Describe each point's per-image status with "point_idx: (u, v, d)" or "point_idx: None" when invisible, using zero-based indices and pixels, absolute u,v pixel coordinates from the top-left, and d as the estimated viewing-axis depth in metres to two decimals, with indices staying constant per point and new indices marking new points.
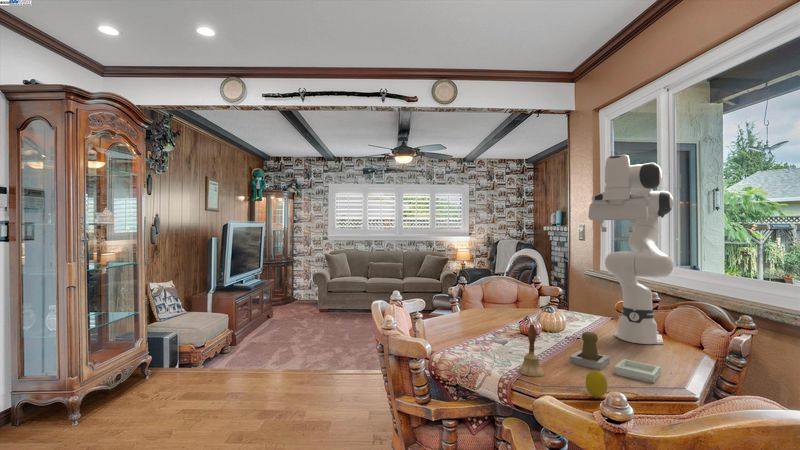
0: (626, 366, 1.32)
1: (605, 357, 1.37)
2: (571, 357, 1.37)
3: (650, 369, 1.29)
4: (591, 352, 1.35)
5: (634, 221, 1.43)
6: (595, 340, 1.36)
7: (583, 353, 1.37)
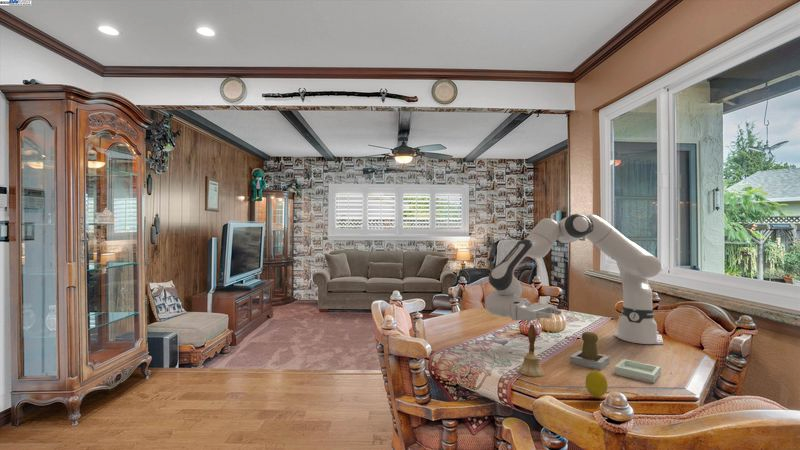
0: (626, 366, 1.32)
1: (605, 357, 1.37)
2: (571, 357, 1.37)
3: (650, 369, 1.29)
4: (591, 352, 1.35)
5: (551, 308, 1.53)
6: (595, 340, 1.36)
7: (583, 353, 1.37)
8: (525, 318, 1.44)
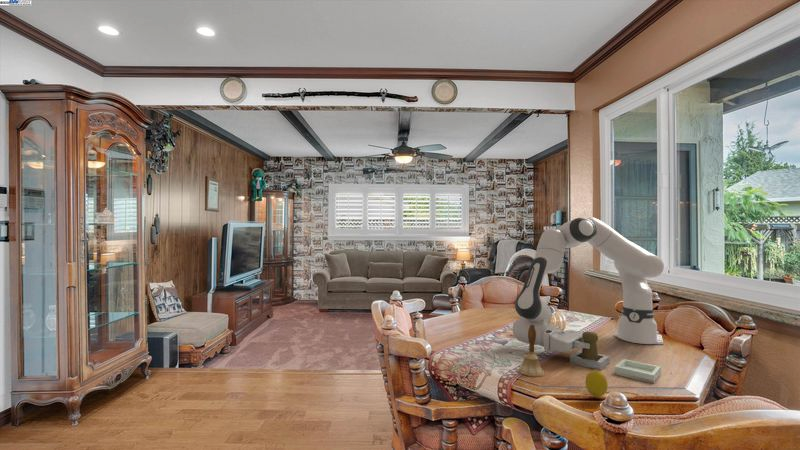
0: (626, 366, 1.32)
1: (605, 357, 1.37)
2: (571, 357, 1.37)
3: (650, 369, 1.29)
4: (591, 352, 1.36)
5: None
6: (595, 339, 1.36)
7: (583, 352, 1.37)
8: (560, 349, 1.35)
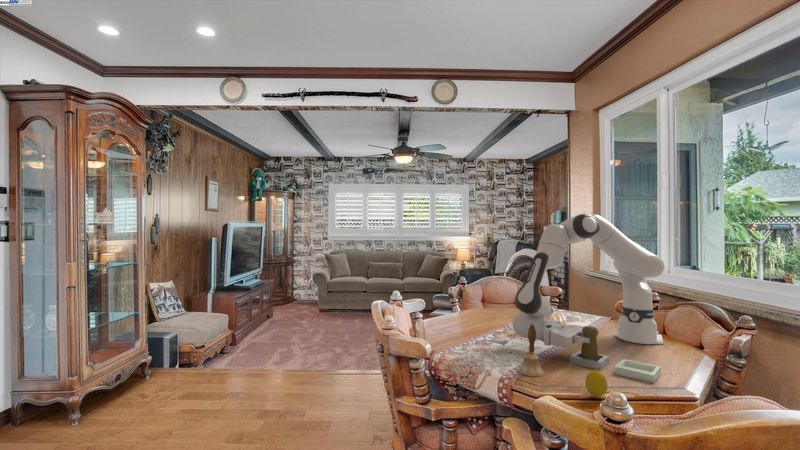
0: (626, 366, 1.32)
1: (605, 357, 1.37)
2: (571, 357, 1.37)
3: (650, 369, 1.29)
4: (591, 346, 1.36)
5: None
6: (595, 334, 1.36)
7: (583, 347, 1.38)
8: (560, 344, 1.36)
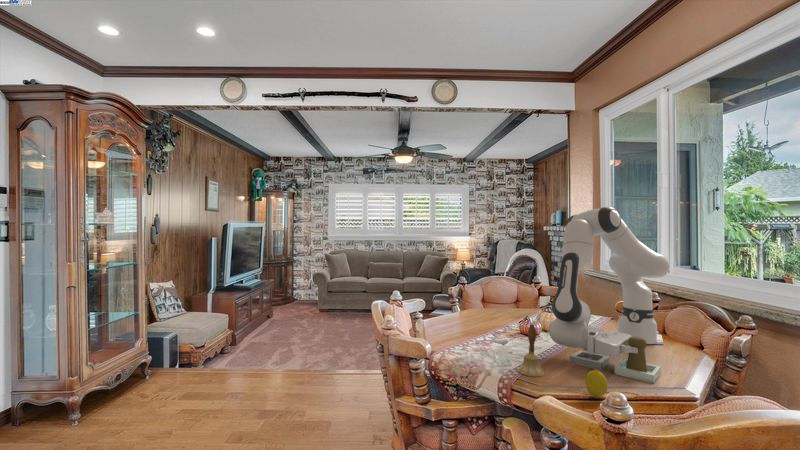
0: None
1: (605, 357, 1.37)
2: (571, 357, 1.37)
3: (650, 369, 1.29)
4: (639, 359, 1.24)
5: None
6: (644, 345, 1.25)
7: (630, 359, 1.26)
8: (606, 353, 1.25)
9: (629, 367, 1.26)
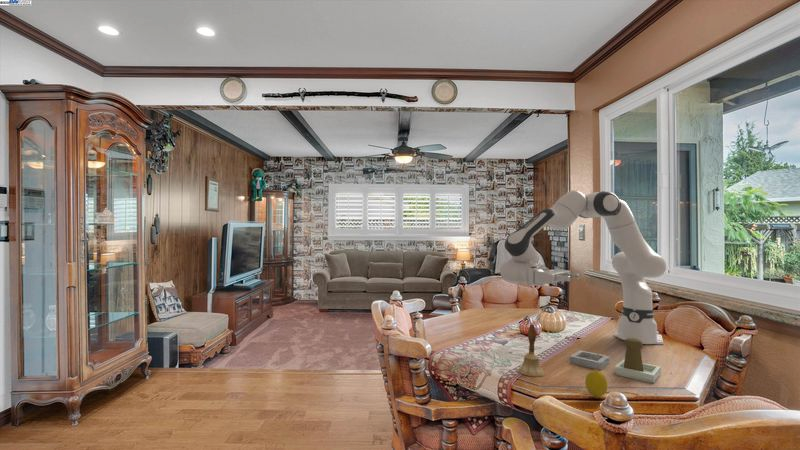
0: None
1: (605, 357, 1.37)
2: (571, 357, 1.37)
3: (650, 369, 1.29)
4: (637, 361, 1.25)
5: (569, 273, 1.51)
6: (641, 347, 1.25)
7: (627, 361, 1.26)
8: (543, 281, 1.42)
9: None
